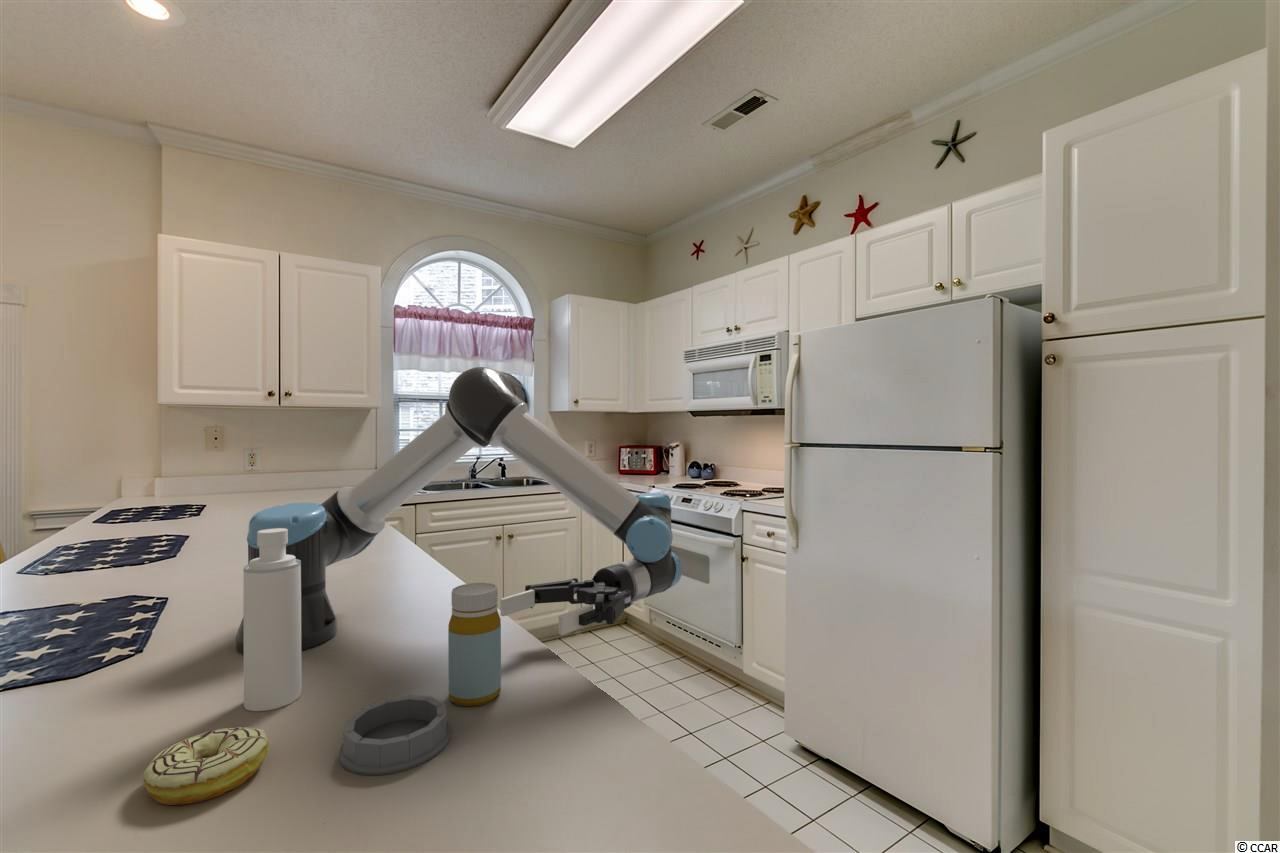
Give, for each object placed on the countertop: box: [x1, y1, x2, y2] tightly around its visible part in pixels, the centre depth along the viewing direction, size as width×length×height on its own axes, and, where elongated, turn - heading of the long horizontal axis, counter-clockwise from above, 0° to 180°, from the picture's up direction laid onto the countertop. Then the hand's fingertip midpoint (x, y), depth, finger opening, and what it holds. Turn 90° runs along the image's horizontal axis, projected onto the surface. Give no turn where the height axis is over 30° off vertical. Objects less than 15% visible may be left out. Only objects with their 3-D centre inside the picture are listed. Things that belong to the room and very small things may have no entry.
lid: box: [339, 695, 451, 776], centre depth 67 cm, size 12×12×3 cm
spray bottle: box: [242, 528, 302, 712], centre depth 78 cm, size 7×7×25 cm
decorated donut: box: [142, 726, 270, 806], centre depth 61 cm, size 10×11×4 cm
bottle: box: [447, 582, 502, 707], centre depth 79 cm, size 7×7×15 cm
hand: (529, 616), depth 87 cm, fingers open, 13 cm apart
